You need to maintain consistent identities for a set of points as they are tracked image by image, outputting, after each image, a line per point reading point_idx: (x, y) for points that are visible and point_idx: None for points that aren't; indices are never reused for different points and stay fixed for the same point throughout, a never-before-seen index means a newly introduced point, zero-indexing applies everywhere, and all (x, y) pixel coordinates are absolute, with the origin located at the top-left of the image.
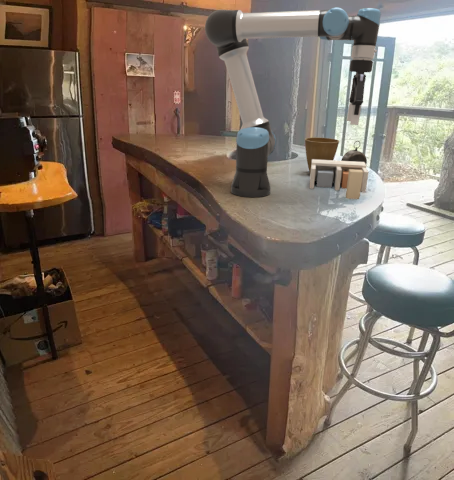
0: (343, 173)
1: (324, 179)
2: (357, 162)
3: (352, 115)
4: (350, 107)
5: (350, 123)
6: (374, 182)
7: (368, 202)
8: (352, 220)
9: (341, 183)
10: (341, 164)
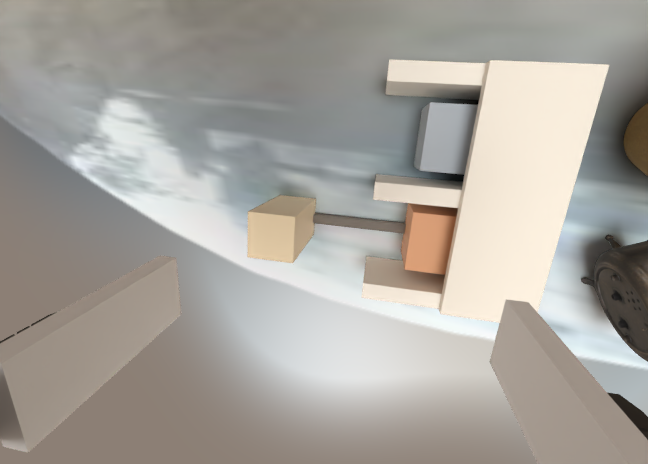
0: (421, 213)
1: (421, 136)
2: (517, 295)
3: (100, 295)
4: (583, 433)
5: (155, 258)
6: None
7: None
8: (93, 175)
9: (444, 207)
10: (459, 212)
